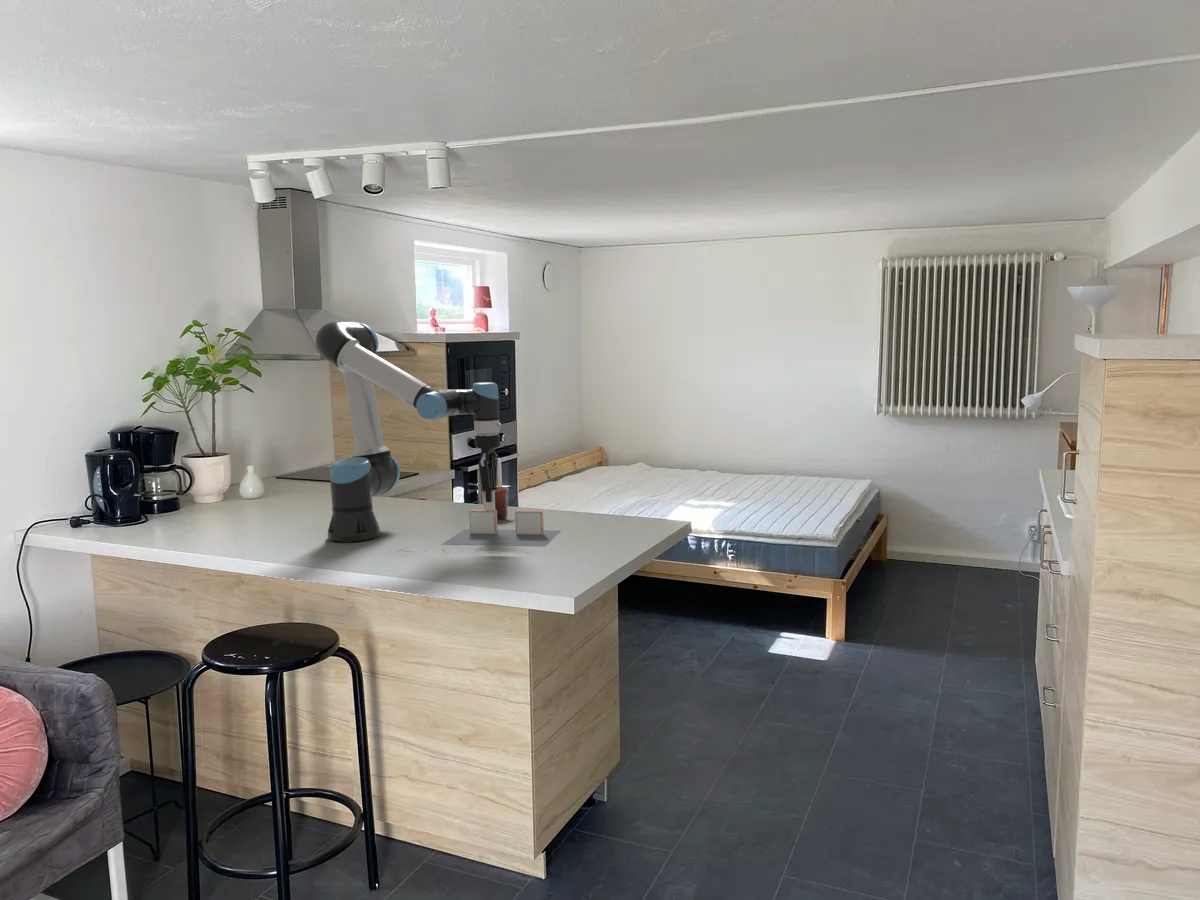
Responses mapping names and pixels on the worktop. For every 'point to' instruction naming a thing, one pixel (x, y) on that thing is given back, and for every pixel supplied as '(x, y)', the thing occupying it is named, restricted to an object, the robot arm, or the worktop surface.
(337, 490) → the robot arm
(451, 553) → the worktop surface
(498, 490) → the mug
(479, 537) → the mat
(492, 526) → the tile
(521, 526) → the tile
